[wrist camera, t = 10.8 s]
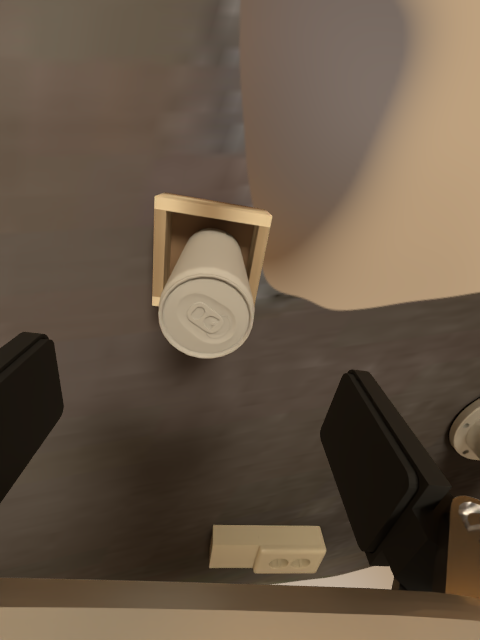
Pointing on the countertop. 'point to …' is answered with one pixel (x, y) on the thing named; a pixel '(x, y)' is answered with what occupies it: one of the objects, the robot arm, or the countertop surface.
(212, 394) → the countertop surface
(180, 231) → the can holder block
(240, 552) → the electrical outlet
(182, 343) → the beverage can
